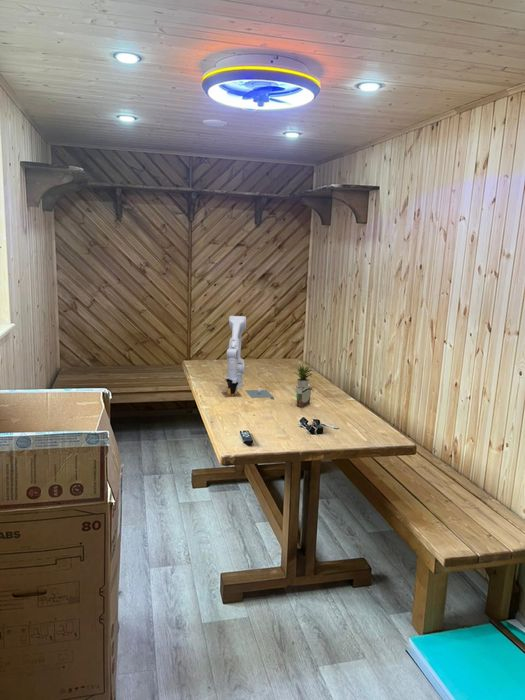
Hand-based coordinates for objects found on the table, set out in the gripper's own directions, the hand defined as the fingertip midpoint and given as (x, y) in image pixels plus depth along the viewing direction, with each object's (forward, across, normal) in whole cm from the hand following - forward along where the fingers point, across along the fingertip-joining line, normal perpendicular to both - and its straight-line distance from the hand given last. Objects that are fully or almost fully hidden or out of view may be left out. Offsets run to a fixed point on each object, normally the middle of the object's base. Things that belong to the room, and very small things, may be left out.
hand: (231, 392), depth 310 cm
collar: (+1, 0, 0) cm, 1 cm away
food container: (+2, +23, +34) cm, 41 cm away
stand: (+2, 0, 0) cm, 2 cm away
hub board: (+2, 0, +16) cm, 16 cm away
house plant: (+2, -11, +46) cm, 47 cm away
